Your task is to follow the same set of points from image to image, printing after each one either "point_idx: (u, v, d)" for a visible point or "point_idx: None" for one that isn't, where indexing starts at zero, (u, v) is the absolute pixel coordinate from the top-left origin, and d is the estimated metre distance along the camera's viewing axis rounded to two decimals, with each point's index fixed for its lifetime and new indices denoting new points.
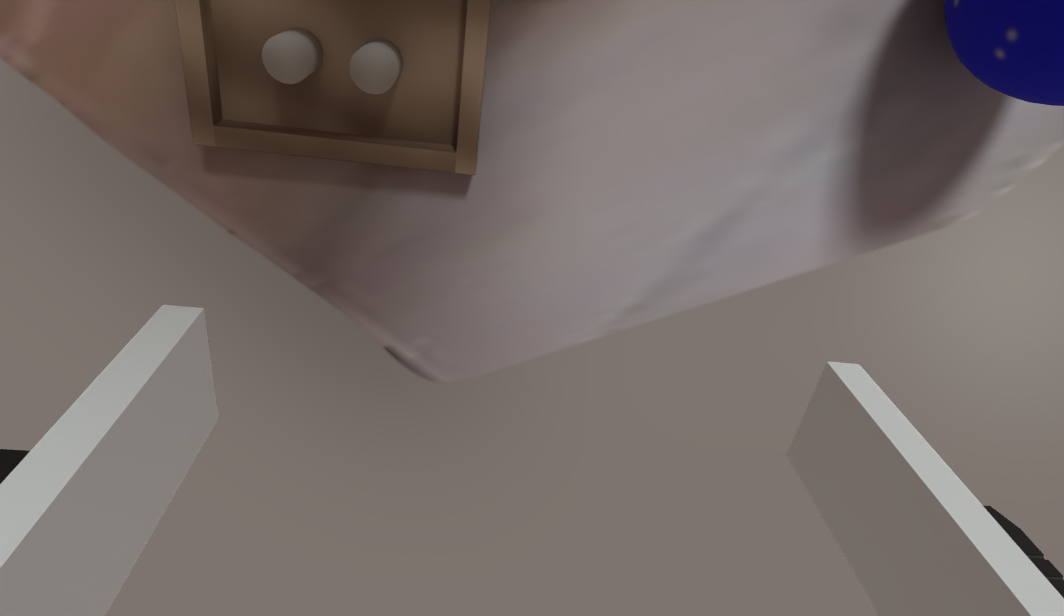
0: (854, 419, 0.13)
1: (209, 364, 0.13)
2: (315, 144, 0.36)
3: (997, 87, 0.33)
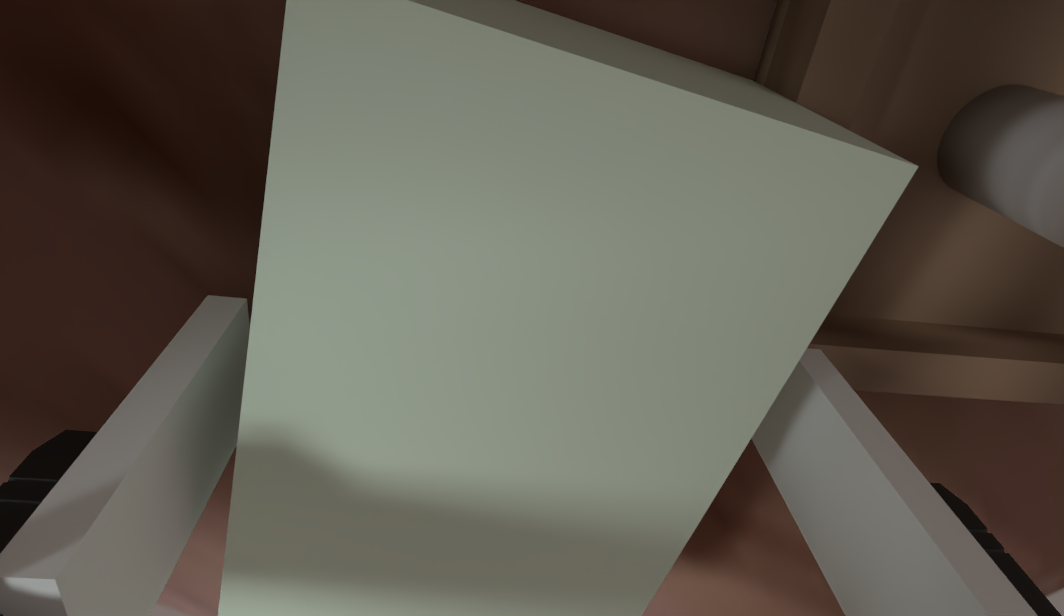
0: (811, 401, 0.13)
1: None
2: None
3: None
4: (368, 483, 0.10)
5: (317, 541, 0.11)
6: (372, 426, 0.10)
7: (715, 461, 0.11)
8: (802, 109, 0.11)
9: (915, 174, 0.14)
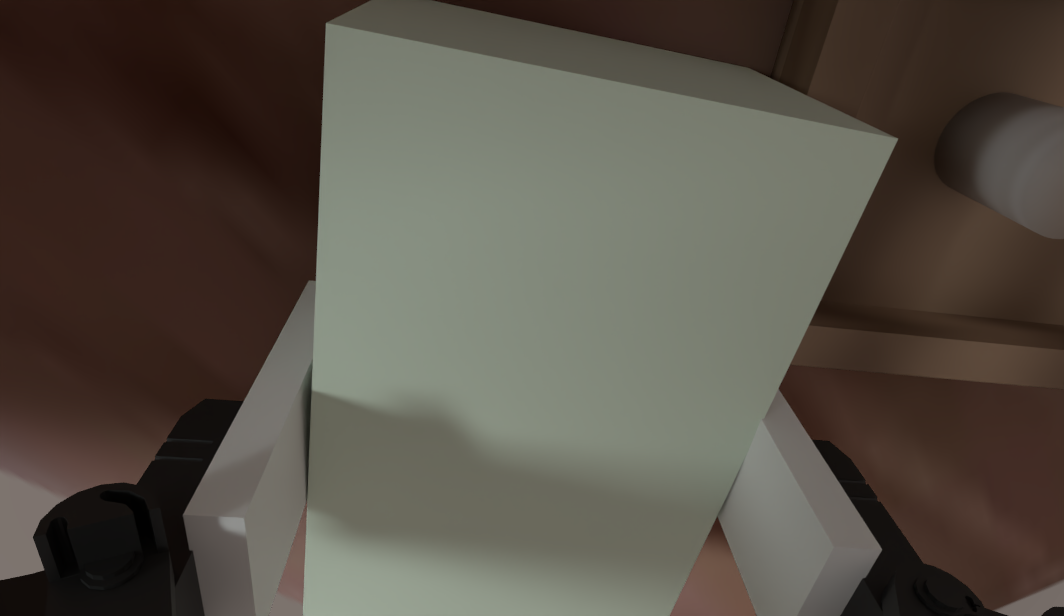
0: None
1: None
2: None
3: None
4: (425, 467, 0.12)
5: (385, 522, 0.12)
6: (425, 414, 0.11)
7: (740, 426, 0.12)
8: (795, 94, 0.12)
9: (914, 173, 0.16)
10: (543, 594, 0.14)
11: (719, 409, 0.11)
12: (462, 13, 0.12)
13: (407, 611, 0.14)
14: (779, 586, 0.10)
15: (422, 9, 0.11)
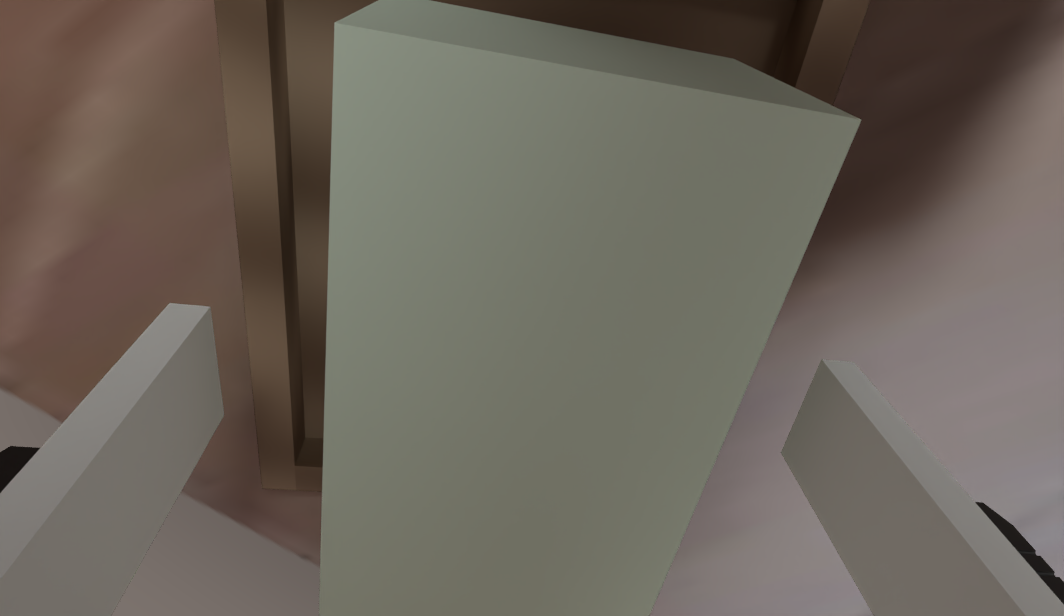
0: (848, 417, 0.13)
1: (214, 362, 0.13)
2: None
3: None
4: (432, 435, 0.13)
5: (395, 488, 0.13)
6: (430, 385, 0.12)
7: (725, 394, 0.12)
8: (772, 81, 0.12)
9: None
10: (544, 558, 0.15)
11: (705, 378, 0.12)
12: (460, 12, 0.13)
13: (417, 575, 0.15)
14: None
15: (423, 9, 0.12)
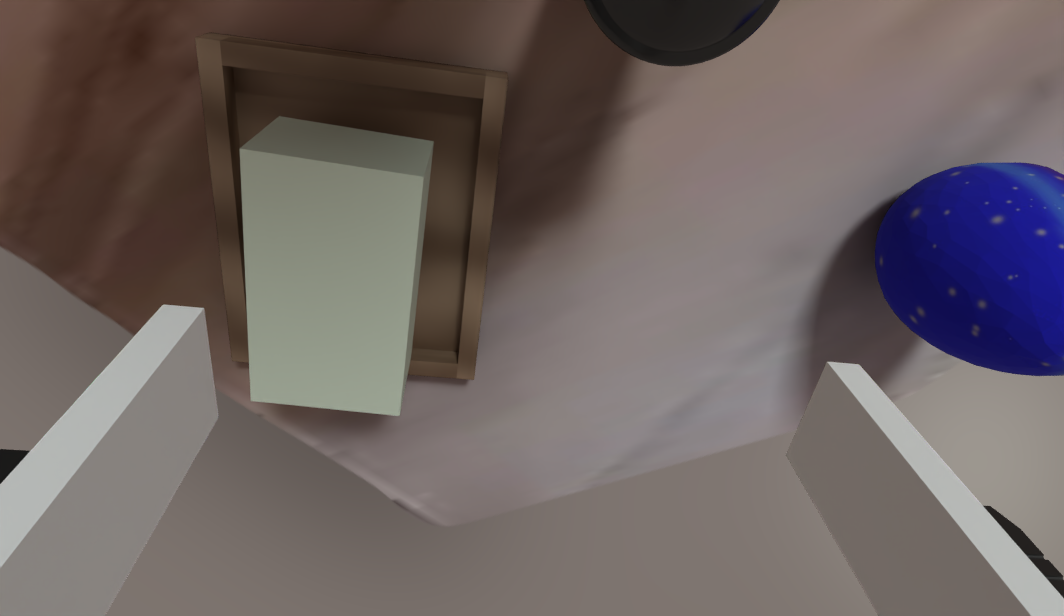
0: (854, 420, 0.13)
1: (209, 364, 0.13)
2: None
3: None
4: (289, 297, 0.32)
5: (277, 322, 0.32)
6: (286, 275, 0.31)
7: (405, 281, 0.31)
8: (422, 157, 0.31)
9: None
10: (346, 359, 0.34)
11: (395, 273, 0.31)
12: (303, 127, 0.32)
13: (291, 367, 0.34)
14: None
15: (284, 129, 0.31)
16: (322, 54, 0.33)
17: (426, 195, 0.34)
